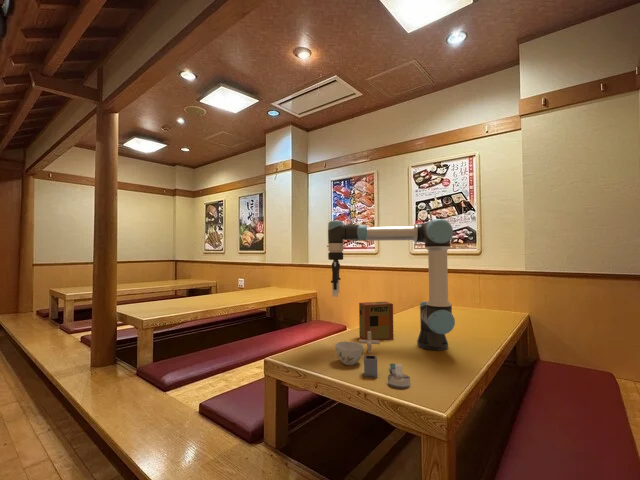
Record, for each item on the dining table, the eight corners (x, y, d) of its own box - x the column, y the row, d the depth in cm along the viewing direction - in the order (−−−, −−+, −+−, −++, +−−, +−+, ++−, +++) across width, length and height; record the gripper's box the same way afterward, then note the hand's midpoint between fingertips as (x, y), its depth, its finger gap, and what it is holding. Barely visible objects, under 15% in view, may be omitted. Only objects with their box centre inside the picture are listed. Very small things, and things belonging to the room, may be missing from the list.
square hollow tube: (376, 372, 130) (376, 355, 130) (377, 377, 125) (377, 359, 125) (364, 372, 130) (363, 355, 130) (364, 377, 125) (364, 359, 126)
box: (365, 342, 174) (365, 305, 175) (359, 337, 183) (359, 302, 184) (393, 339, 178) (392, 303, 179) (386, 335, 187) (386, 301, 188)
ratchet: (403, 369, 133) (403, 352, 134) (411, 389, 114) (411, 369, 114) (384, 368, 134) (383, 351, 135) (389, 388, 115) (388, 368, 115)
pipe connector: (379, 356, 150) (379, 334, 151) (358, 354, 152) (358, 333, 153) (380, 349, 160) (379, 329, 160) (360, 348, 162) (359, 328, 162)
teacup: (354, 370, 132) (354, 351, 133) (329, 364, 140) (329, 346, 140) (371, 360, 145) (371, 342, 145) (347, 355, 152) (347, 338, 152)
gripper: (330, 251, 172) (330, 291, 171) (326, 252, 147) (326, 298, 147) (344, 251, 171) (344, 291, 171) (342, 251, 147) (342, 298, 146)
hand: (336, 294), depth 159 cm, fingers open, 13 cm apart
